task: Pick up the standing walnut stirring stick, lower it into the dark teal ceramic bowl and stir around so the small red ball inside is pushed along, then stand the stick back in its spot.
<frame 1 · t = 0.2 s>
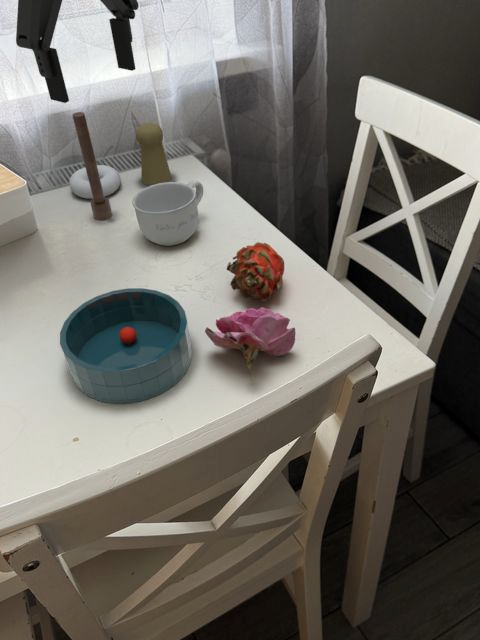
hand: (95, 84, 84), 28 cm above the table, tool pointing down, fingers open, 13 cm apart
olive pawn: (157, 179, 121), on the table
stirring stick: (103, 215, 111), on the table
donut: (97, 190, 119), on the table
red ball: (128, 335, 84), point 2 cm above the table, touching bowl
dragon fruit: (257, 289, 94), on the table
flower: (251, 355, 83), on the table
teacup: (178, 233, 106), on the table
bowl: (132, 358, 83), on the table
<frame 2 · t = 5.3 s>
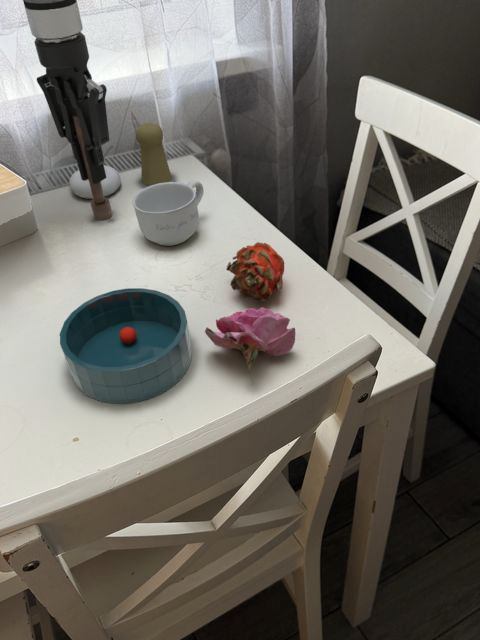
hand: (94, 178, 106), 7 cm above the table, tool pointing down, fingers closed on stirring stick, 2 cm apart
stirring stick: (103, 215, 111), on the table, touching gripper
everything else where it was.
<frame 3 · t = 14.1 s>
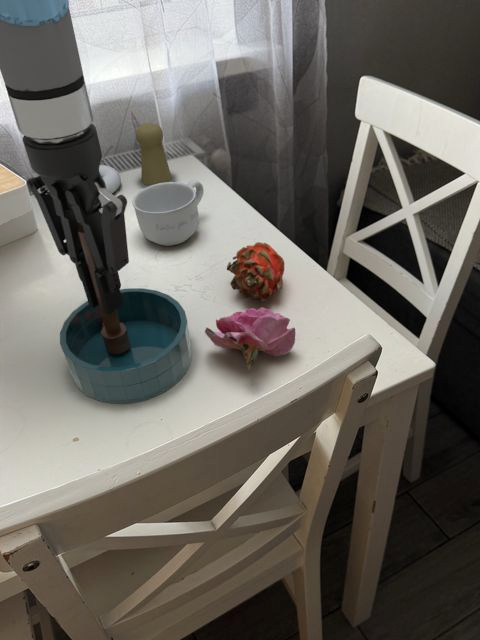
hand: (106, 304, 78), 9 cm above the table, tool pointing down, fingers closed on stirring stick, 2 cm apart
stirring stick: (118, 346, 83), point 1 cm above the table, touching gripper
red ball: (111, 325, 85), point 2 cm above the table, tilted 171°, touching bowl
everything else where it was.
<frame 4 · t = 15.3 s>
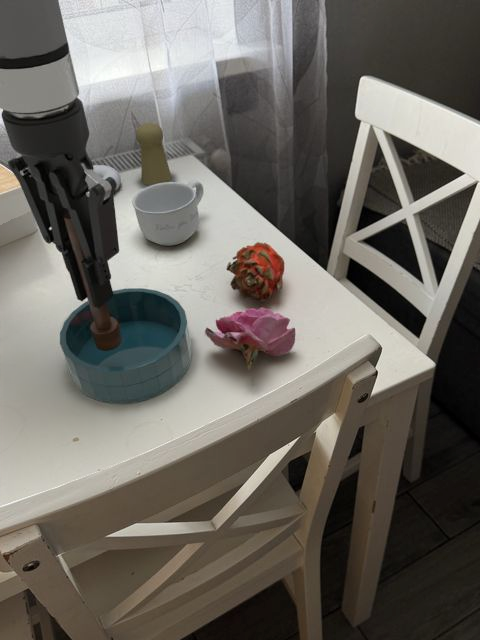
hand: (95, 297, 72), 13 cm above the table, tool pointing down, fingers closed on stirring stick, 2 cm apart
stirring stick: (108, 342, 78), point 5 cm above the table, touching gripper
red ball: (111, 327, 85), point 2 cm above the table, tilted 148°, touching bowl
everything else where it was.
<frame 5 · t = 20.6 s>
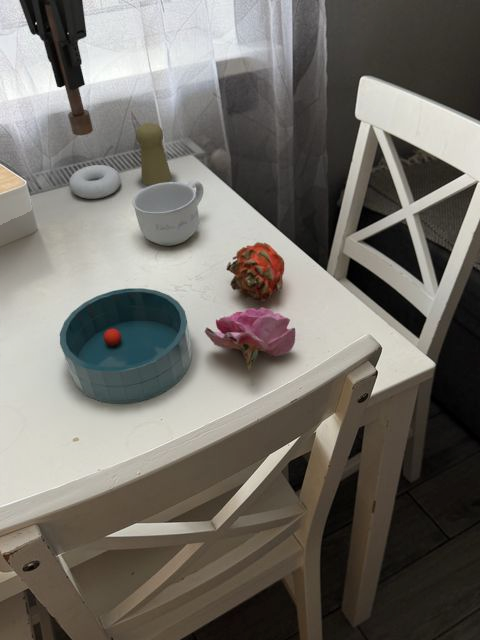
hand: (71, 85, 94), 24 cm above the table, tool pointing down, fingers closed on stirring stick, 2 cm apart
stirring stick: (82, 131, 99), point 16 cm above the table, touching gripper
red ball: (112, 337, 84), point 2 cm above the table, tilted 46°, touching bowl
everything else where it was.
when the fingers open (7 cm above the table, at t = 25.1 s): stirring stick stays where it is, on the table.
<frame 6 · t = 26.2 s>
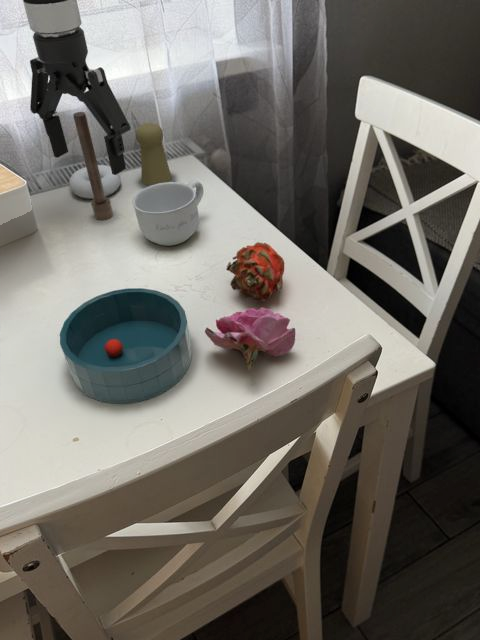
hand: (89, 162, 104), 10 cm above the table, tool pointing down, fingers open, 13 cm apart
stirring stick: (104, 215, 111), on the table
red ball: (113, 347, 82), point 2 cm above the table, tilted 61°, touching bowl
everything else where it was.
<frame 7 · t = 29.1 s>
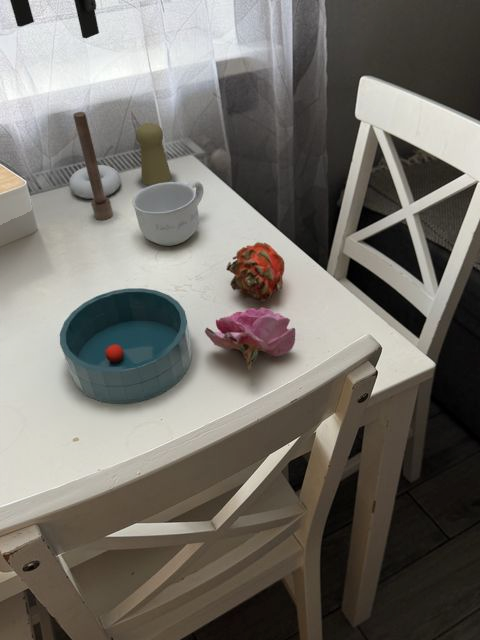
hand: (57, 30, 89), 32 cm above the table, tool pointing down, fingers open, 13 cm apart
red ball: (114, 353, 81), point 2 cm above the table, tilted 117°, touching bowl
everything else where it was.
at the end: red ball moved 3.8 cm from its start; red ball inside the target area in the bowl (2.1 cm from its centre), point 1.8 cm above the bowl's base; stirring stick inside the target area (0.1 cm from its centre), on the table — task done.
